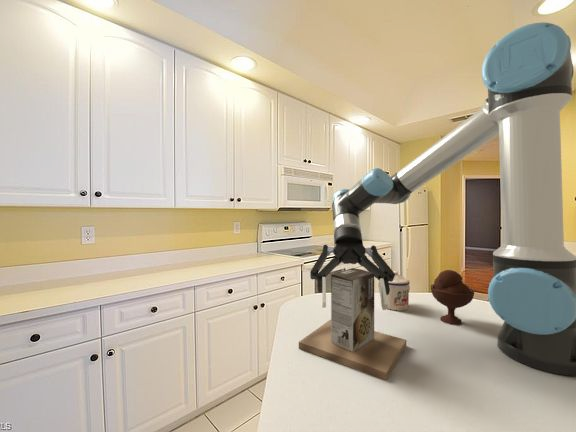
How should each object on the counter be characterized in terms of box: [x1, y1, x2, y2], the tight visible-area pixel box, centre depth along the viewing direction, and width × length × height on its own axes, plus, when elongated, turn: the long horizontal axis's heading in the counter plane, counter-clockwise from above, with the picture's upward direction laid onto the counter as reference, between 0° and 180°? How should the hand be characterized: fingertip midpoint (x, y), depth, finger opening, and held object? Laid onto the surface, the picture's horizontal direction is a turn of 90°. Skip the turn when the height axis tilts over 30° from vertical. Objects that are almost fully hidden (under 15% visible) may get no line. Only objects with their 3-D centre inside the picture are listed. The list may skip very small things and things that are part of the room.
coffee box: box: [330, 267, 375, 352], centre depth 64 cm, size 9×6×16 cm
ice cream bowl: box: [430, 269, 475, 326], centre depth 79 cm, size 11×11×15 cm
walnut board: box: [298, 319, 407, 381], centre depth 64 cm, size 20×16×2 cm
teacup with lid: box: [380, 270, 410, 312], centre depth 92 cm, size 12×9×12 cm
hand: (354, 306), depth 62 cm, fingers open, 13 cm apart
